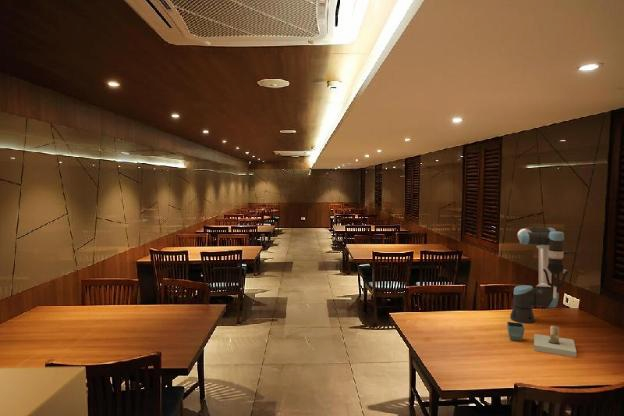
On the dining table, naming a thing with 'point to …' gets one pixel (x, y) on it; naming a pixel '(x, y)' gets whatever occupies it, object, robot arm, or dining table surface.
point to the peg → (554, 335)
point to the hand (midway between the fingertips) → (554, 297)
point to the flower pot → (515, 330)
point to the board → (554, 346)
